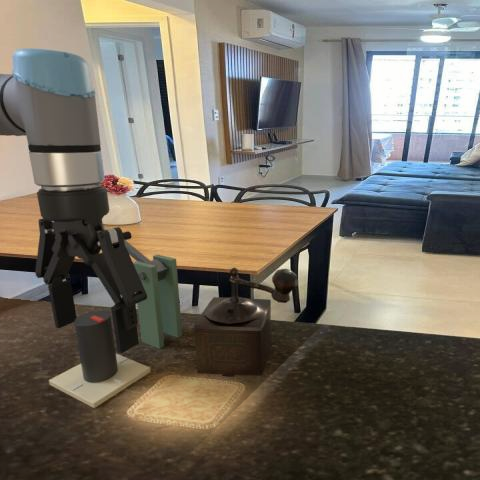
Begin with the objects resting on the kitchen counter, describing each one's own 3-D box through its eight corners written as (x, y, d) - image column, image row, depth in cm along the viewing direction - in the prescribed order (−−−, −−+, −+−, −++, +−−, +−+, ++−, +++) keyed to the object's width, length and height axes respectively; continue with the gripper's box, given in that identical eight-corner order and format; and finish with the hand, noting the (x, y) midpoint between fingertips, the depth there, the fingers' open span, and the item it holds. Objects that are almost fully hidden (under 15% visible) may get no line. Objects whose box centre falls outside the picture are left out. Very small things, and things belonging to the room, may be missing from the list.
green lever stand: (121, 349, 65) (109, 263, 61) (163, 326, 73) (155, 248, 69) (162, 366, 61) (153, 274, 57) (202, 340, 69) (197, 258, 65)
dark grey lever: (98, 245, 65) (101, 233, 63) (125, 238, 69) (127, 227, 68) (147, 286, 61) (150, 274, 60) (171, 276, 66) (174, 265, 65)
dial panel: (50, 392, 55) (48, 379, 54) (108, 360, 62) (107, 348, 62) (95, 416, 50) (93, 402, 50) (151, 378, 58) (150, 366, 58)
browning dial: (76, 376, 55) (66, 318, 52) (105, 361, 59) (97, 306, 56) (96, 386, 53) (86, 326, 50) (124, 369, 57) (117, 313, 54)
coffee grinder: (193, 383, 57) (185, 272, 52) (214, 343, 68) (208, 248, 63) (296, 387, 57) (297, 275, 52) (301, 347, 68) (302, 251, 63)
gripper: (167, 190, 46) (180, 345, 52) (46, 176, 57) (68, 306, 63) (109, 200, 40) (132, 375, 45) (-15, 181, 50) (17, 325, 56)
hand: (95, 335), depth 54 cm, fingers open, 13 cm apart
